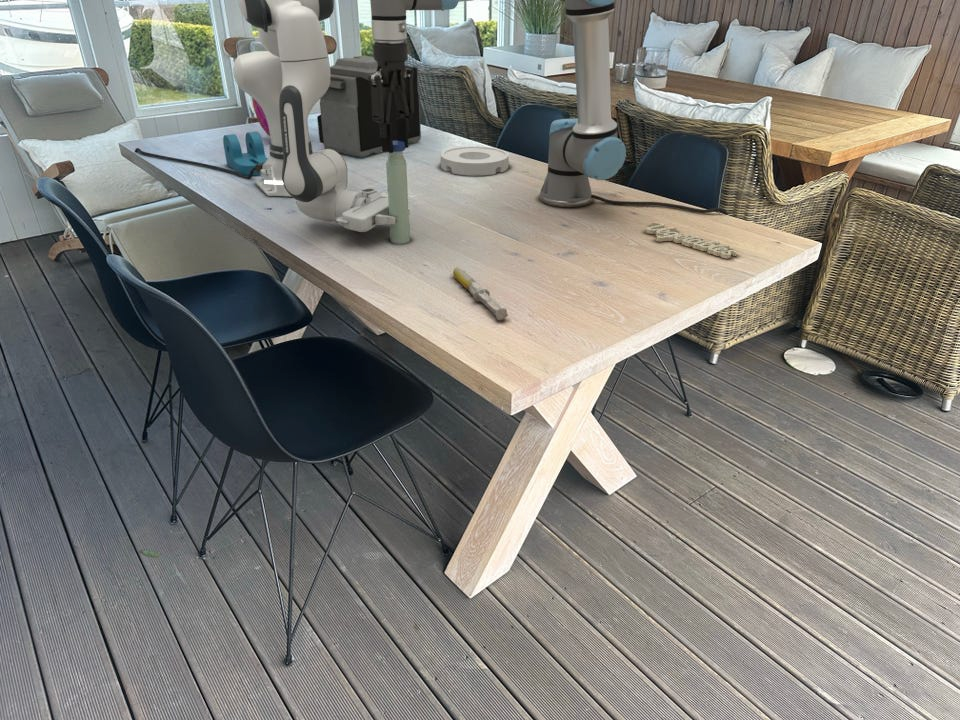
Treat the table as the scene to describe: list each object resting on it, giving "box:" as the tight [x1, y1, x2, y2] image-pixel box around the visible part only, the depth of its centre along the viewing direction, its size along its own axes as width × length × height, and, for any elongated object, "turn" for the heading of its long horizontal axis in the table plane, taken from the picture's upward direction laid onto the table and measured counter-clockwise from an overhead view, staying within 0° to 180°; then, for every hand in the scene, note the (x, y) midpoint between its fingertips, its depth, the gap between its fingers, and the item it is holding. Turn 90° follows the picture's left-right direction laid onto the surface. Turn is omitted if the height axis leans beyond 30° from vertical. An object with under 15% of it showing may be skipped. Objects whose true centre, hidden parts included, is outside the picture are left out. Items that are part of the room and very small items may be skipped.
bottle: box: [385, 151, 411, 245], centre depth 167 cm, size 5×5×24 cm
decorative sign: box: [645, 221, 738, 259], centre depth 174 cm, size 26×1×10 cm
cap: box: [393, 141, 406, 152], centre depth 162 cm, size 5×5×2 cm
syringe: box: [452, 266, 509, 321], centre depth 145 cm, size 25×4×3 cm, turn 21°
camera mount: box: [222, 131, 269, 176], centre depth 226 cm, size 18×10×10 cm, turn 35°
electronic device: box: [316, 55, 422, 159], centre depth 250 cm, size 37×22×30 cm, turn 144°
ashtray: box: [440, 145, 510, 177], centre depth 233 cm, size 23×23×4 cm
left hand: (402, 216), depth 170 cm, fingers closed on bottle, 5 cm apart
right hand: (395, 149), depth 162 cm, fingers open, 5 cm apart
